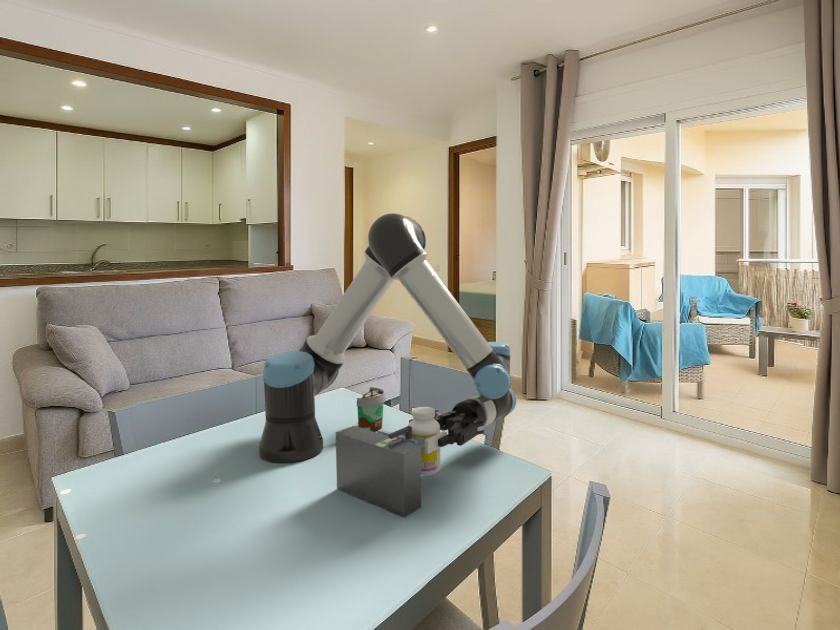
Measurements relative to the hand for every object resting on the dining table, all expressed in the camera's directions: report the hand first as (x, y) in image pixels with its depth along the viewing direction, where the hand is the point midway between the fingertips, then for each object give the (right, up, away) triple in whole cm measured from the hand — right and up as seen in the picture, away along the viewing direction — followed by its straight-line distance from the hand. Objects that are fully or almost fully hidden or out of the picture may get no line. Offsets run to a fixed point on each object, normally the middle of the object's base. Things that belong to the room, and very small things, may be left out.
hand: (411, 442), depth 101 cm
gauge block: (-7, -10, -2) cm, 12 cm away
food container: (-11, -6, +37) cm, 39 cm away
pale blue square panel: (-4, -9, 0) cm, 10 cm away
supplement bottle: (+3, -7, +4) cm, 8 cm away
